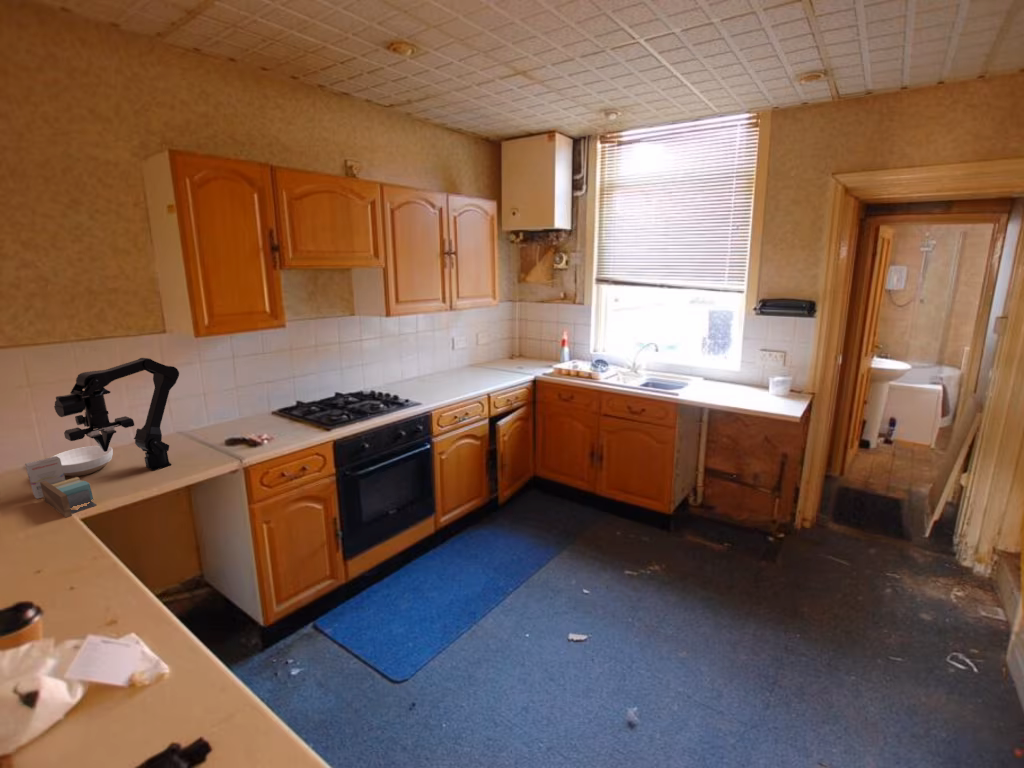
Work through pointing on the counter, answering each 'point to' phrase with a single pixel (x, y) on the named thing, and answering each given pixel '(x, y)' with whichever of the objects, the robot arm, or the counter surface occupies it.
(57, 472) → the ink box
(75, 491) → the grey teal rectangular block
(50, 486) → the walnut back wall
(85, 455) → the bowl
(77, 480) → the row of shelved books
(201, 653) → the counter surface
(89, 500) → the grey metal bookend
